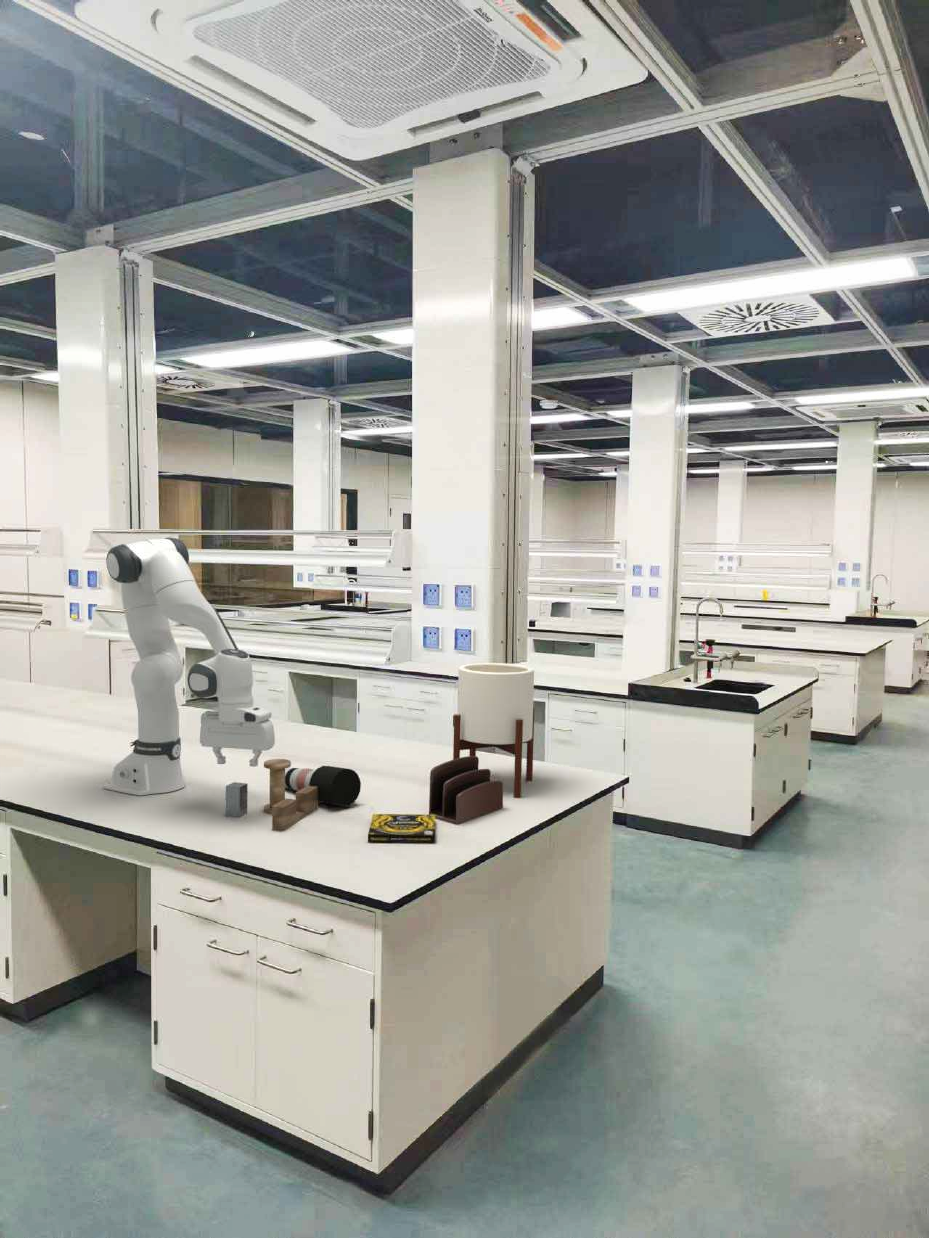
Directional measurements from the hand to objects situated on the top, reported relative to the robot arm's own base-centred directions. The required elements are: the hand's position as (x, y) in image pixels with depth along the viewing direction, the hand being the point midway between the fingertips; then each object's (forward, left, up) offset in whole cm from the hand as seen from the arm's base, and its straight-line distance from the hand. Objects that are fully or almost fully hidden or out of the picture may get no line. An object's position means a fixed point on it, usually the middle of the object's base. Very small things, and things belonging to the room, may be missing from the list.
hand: (237, 764), depth 219 cm
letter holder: (+56, +22, -14) cm, 62 cm away
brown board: (+16, +2, -13) cm, 21 cm away
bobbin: (+8, +7, -13) cm, 17 cm away
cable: (+10, +22, -14) cm, 28 cm away
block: (0, 0, -13) cm, 13 cm away
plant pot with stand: (+57, +50, -14) cm, 77 cm away
